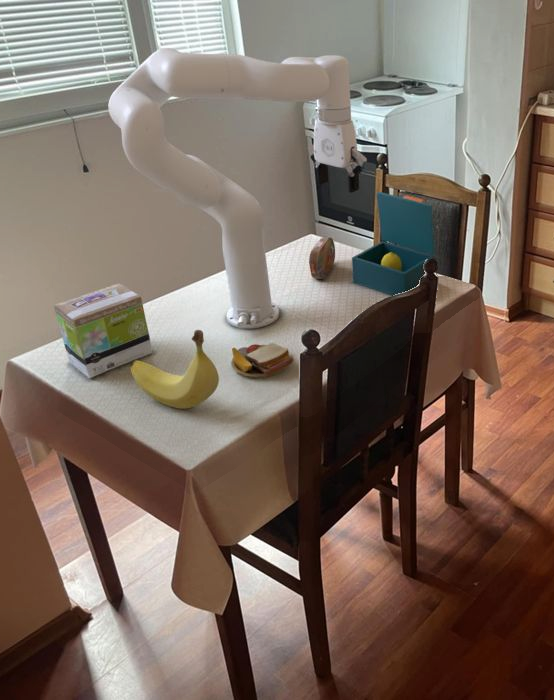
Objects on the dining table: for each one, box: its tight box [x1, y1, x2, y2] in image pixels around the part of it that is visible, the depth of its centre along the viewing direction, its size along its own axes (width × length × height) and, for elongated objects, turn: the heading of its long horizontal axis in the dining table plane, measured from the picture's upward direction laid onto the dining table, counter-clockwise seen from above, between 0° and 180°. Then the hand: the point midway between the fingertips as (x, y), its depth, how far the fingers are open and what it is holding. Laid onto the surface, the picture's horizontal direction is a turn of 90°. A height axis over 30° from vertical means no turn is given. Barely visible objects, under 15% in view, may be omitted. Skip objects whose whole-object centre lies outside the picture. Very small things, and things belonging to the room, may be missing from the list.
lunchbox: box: [351, 240, 435, 296], centre depth 191 cm, size 13×17×7 cm
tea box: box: [53, 282, 153, 379], centre depth 157 cm, size 15×10×15 cm
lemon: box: [381, 252, 402, 271], centre depth 190 cm, size 6×6×8 cm
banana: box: [130, 329, 220, 409], centre depth 141 cm, size 23×6×20 cm, turn 62°
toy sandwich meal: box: [230, 342, 294, 379], centre depth 157 cm, size 12×14×5 cm
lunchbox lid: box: [376, 191, 436, 256], centre depth 190 cm, size 14×17×6 cm
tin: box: [308, 237, 336, 280], centre depth 196 cm, size 15×3×8 cm, turn 168°
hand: (338, 187), depth 173 cm, fingers open, 9 cm apart
